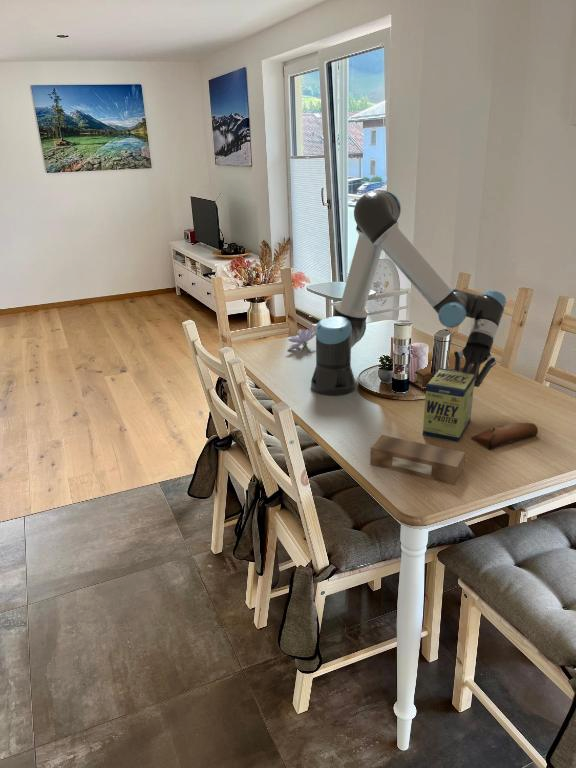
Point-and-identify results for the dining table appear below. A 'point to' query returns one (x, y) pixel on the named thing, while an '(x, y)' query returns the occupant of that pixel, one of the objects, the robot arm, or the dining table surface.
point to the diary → (425, 374)
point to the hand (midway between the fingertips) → (459, 404)
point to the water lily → (302, 338)
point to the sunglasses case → (505, 434)
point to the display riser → (418, 459)
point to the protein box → (448, 404)
